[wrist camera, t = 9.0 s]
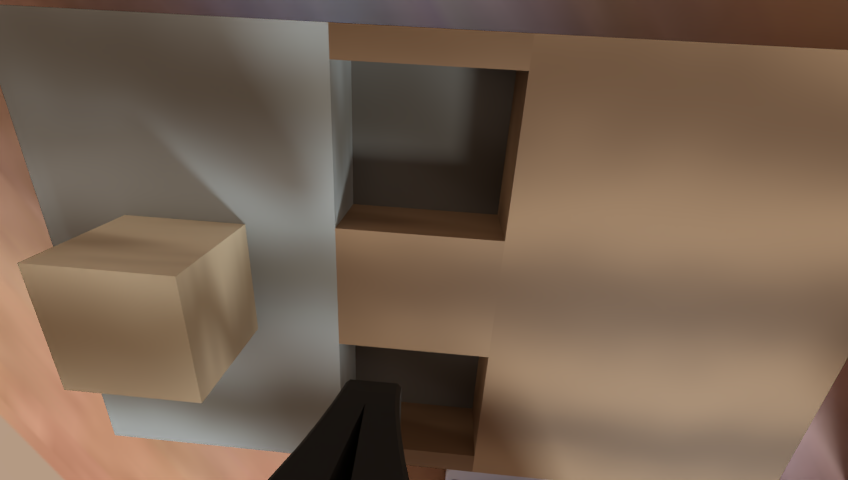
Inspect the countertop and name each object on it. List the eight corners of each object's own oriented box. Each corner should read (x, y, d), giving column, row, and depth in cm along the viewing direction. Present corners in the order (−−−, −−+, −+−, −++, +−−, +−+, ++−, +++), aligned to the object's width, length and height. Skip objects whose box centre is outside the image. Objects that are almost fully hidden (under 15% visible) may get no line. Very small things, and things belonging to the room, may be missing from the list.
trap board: (725, 444, 21) (766, 502, 18) (157, 389, 22) (115, 435, 20) (906, 60, 14) (1016, 59, 11) (60, 14, 15) (-27, 3, 13)
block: (258, 328, 17) (201, 403, 13) (150, 319, 17) (64, 389, 13) (245, 224, 15) (175, 276, 11) (124, 214, 15) (17, 263, 11)
